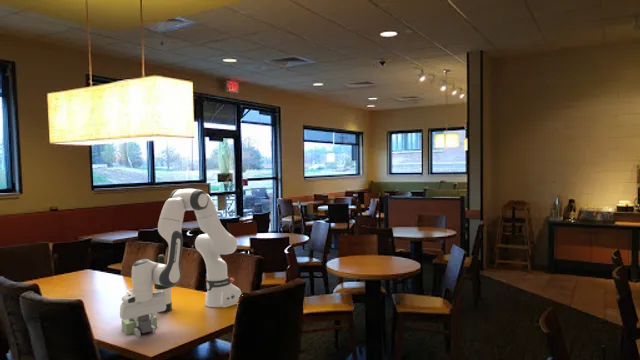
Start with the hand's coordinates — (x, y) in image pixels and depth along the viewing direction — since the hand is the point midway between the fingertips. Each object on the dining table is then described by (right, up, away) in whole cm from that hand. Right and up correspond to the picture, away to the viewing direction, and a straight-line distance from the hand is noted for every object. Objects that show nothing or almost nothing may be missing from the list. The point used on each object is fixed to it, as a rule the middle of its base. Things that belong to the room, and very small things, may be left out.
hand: (144, 324), depth 208 cm
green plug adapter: (-3, -4, +4) cm, 6 cm away
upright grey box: (0, -3, 0) cm, 3 cm away
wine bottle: (-2, -3, +32) cm, 33 cm away
